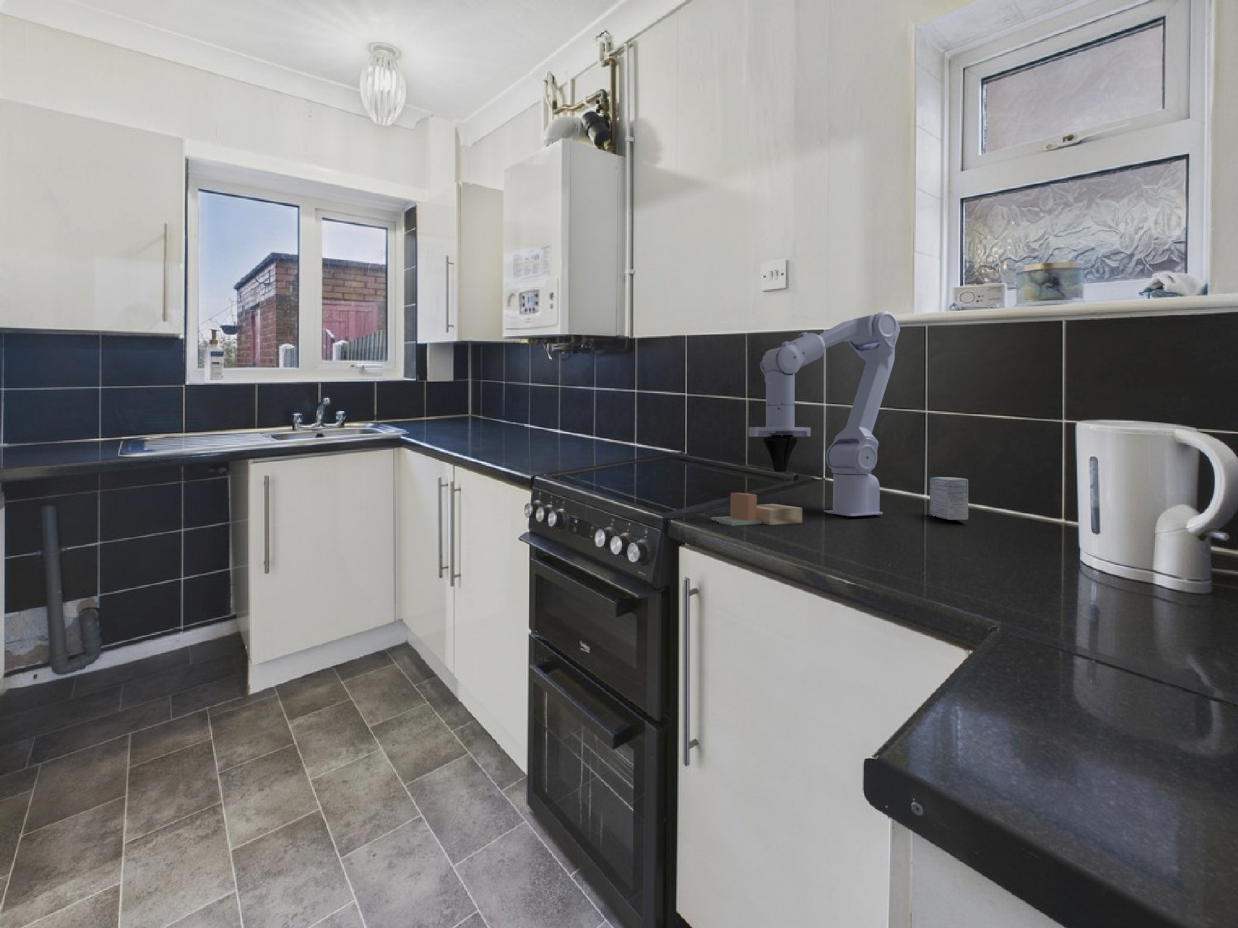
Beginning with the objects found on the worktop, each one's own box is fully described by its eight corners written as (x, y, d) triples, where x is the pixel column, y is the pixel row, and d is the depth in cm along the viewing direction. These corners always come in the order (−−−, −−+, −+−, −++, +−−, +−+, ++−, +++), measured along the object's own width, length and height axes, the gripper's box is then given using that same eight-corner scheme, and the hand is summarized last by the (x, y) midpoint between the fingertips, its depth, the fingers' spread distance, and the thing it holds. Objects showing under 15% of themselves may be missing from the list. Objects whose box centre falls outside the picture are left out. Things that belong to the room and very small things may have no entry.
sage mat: (739, 519, 127) (739, 515, 127) (761, 523, 120) (761, 519, 120) (710, 521, 124) (710, 517, 124) (732, 525, 117) (732, 521, 117)
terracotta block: (738, 492, 125) (730, 492, 124) (756, 494, 120) (748, 495, 119) (738, 516, 125) (730, 517, 125) (756, 520, 120) (748, 520, 119)
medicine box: (968, 520, 127) (969, 479, 127) (947, 520, 127) (947, 478, 127) (949, 515, 135) (949, 477, 135) (928, 515, 135) (929, 476, 135)
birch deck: (773, 517, 130) (773, 503, 130) (802, 522, 122) (802, 507, 122) (742, 519, 127) (742, 505, 127) (770, 524, 119) (770, 509, 119)
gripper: (794, 407, 132) (794, 470, 132) (739, 406, 126) (739, 471, 126) (817, 405, 125) (817, 471, 126) (760, 404, 119) (760, 473, 120)
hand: (780, 471), depth 126 cm, fingers closed
